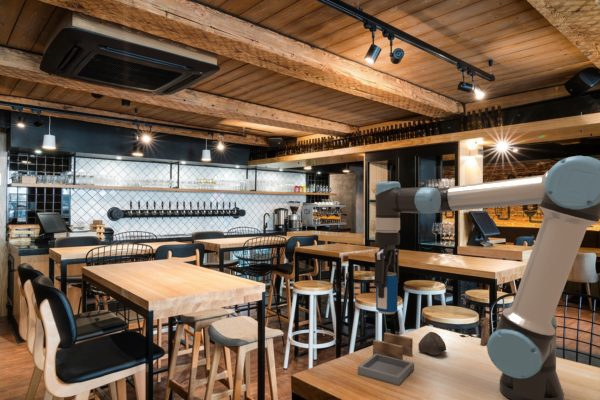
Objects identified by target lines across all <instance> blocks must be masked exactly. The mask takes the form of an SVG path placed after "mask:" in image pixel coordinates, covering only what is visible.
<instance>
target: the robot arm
mask: <svg viewBox="0 0 600 400" xmlns="http://www.w3.org/2000/svg"><path fill="white" fill-rule="evenodd" d="M374 198H375V199H374V200H375V220H374V224H375V233H374V243H375V244H376V245H378V246H379V249H378V252H377V251H376V252H374V276H373V277H374V281H373V285H374V287H376V286H377V287H378V308H382V309H387V287H386V280H387V273H388V272H393V273H396V276H397V278H398V284H399V282H400V269H399V268H400V267H399V266H400V265H399V254H400V249H399V248H396V247H395V246H397V245H398V246H399V245H400V243H401V234H400V232H399V231H400V230H401V213H403V214H404V213H407V214H409V213H410V214H424V215H426V214H427V215H429V214H439V213H440V214H442V213H446V212H455V211H468V210H469V211H470V210H480V209H481V210H482V209H493V208H505V207H515V206H517V207H518V206H527V205H528V206H529V205H539V209H540V211H542V213H543V215H544V216H543V219H542V222H541V224H540V227H539V230H538V232H537V235H536V238H535V241H534V243H533V247H532V249H531V251H530V255H529V258H528V261H527V263H526V265H525V269H524V271H523V274H522V277H521V280H520V282H519V285H518V288H517V291H516V293H515V296H514V299H513V302H512V304H511V306H510V307H509V306H508V307H507V308H504V309H503V310H502V313H501V315H500V318H499V320H498V323H497V326H496V328H495V331H494V332H492V333H491V334H490V335H489V340H488V343H487V345H486V349H487V355H488V357H489V359H490V361H491V363H492V364H493V365H494V366H495V367H496V369H498V370H499V371H500V372H501V376H500V378H499V390H500V392H501V394H502V395H503V396H504V397H506V398H508V399H510V400H565V397H564V394H565V393H564V390H563V388H562V384H561V381H560V379H559V376H558V373H557V328H558V325H557V317H556V316H555V312H556V310H557V308H558V304H559V302H560V299H561V298H562V294H563V292H564V289H565V286H566V283H567V282H568V281H567V280H568V278H569V277H570V273H571V270H572V268H573V265H574V262H575V260H576V257H577V255H578V253H579V249H580V247H581V245H582V242H583V240H584V237H585V234H586V232H587V229H588V228H589V227H592V226H594V225H596V224H598V223H599V221H600V159H597V158H595V157H591V156H586V155H585V156H583V155H575V156H568V157H565V158H563V159H560V160H559V161H557V162H556V163H554V165H553V166H552V167H551V168H550V169H549V170H546V171H545V173H544V174H543V175H542V174H541V175H534V176H533V175H531V176H527V177H520V178H519V177H518V178H517V177H516V178H511V179H510V178H509V179H503V180H495V181H487V182H478V183H472V184H470V183H469V184H465V185H464V184H462V185H455V186H450V187H449V186H448V187H439V188H438V187H437V188H436V187H428V186H424V187H401V183H400V182H399V181H379V182H377V183H376V185H375V196H374Z"/></svg>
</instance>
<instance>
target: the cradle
mask: <svg viewBox="0 0 600 400" xmlns="http://www.w3.org/2000/svg"><path fill="white" fill-rule="evenodd" d="M413 339H414V338H413V337H409V336H404V335H400V334H393V333H390V332H384V333H383V341H381V340H377V339H373V340H372V356H373V355H374V354H375V353H376V354H380V355H384V356H388V357H393V358H397V359H401V360H404V356H407V357H413V343H414V340H413Z"/></svg>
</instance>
